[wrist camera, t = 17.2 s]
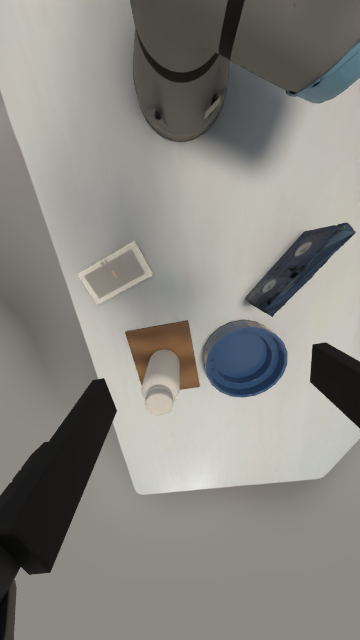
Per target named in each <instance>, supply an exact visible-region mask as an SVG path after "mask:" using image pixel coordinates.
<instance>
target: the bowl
mask: <svg viewBox="0 0 360 640" xmlns="http://www.w3.org/2000/svg"><path fill="white" fill-rule="evenodd" d="M203 359H204V365H205V369H206V374H207V377H208V379H209V380H210V382H211V384H212V385H213V386H214V387H215V388H216V389H218V390H219V391H220V392H222V393H224V394H227V395H229V396H233V397H249V396H255V395H257V394H260V393H262V392H265V391H267V390H268V389H269V388H271V387H272V386H273V385H275V384H276V383H277V381H278V380H279V379H280V378H281V376H282V375H283V373H284V371H285V368H286V366H287V351H286V348H285V345H284V343H283V341H282V340H281V339H280V338H279V337H278V336H277V335H276V334H275V333H273V332H272V331H271V330H270V329H268V328H267V327H266V326H264V325H261V324H259V323H257V322H254V321H246V320H242V321H236V322H231V323H229V324H227V325H225V326H223V327H221V328H219V329H218V330H217V331H216V332H215V333H214V334H212V335H211V337H210V338H209V340H208V342H207V343H206V345H205V349H204V354H203Z"/></svg>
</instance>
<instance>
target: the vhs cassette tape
mask: <svg viewBox="0 0 360 640" xmlns="http://www.w3.org/2000/svg"><path fill="white" fill-rule="evenodd" d="M355 233H356V232H355V231H354V230H353V228H352V227H351V226H350V225H349V224H348V223H342V224H338V225H337V226H335V225H333V226H329V227H324V228H319V229H315V230H310V231H305V232H304V233H303V234H302V235H301V236H300V237H299V238H298V239H297V241H296V242H295V243H294V244H293V245H292V246H291V247H290V248H289V250H288V251H287V252H286V253H285V254H284V255H283V256H282V257H281V259H280V260H279V261H278V262H277V263H276V264H275V265H274V266H273V268H272V269H271V270H270V271H269V272H268V273H267V274H266V275H265V276H264V277H263V279H262V280H261V281H260V282H259V283H258V284H257V285H256V286H255V288H254V289H253V290H252V291H251V292H250V293H249V294H248V295H247V297H246V298H245V299H246V300H247V301H248V302H250V303H251V304H252V305H254V306H255V307H257V308H258V309H260V310H261V311H263V312H265V313H267V314H268V315H270V316H272V317H273V316H274V314H275V313H276V312H277V311H278V310H279V309H280V308H281V307H282V306H284V305H285V303H286V302H287V301H288V300H289V299H290V298H291V297H292V296H293V295H294V294H295V293H296V292H297V291H298V290H299V289H300V288H301V287H302V286H303V285H304V284H305V283H306V282H307V281H309V280H310V279H311V278H312V277H313V275H314V274H315V273H316V272H317V271H318V269H319V268H321V267H322V266H323V265H324V264H325V263H326V262H327V260H328V259H329V258H330V257H331V256H332V255H333V254H334V253H335V252H336V251H337V250H338V249H339V248H340V247H341V246H343V245H344V244H345V243H346V242H347V241H348V240H349V239H350V238H351V237H352V236H353V235H354V234H355Z"/></svg>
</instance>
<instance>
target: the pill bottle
mask: <svg viewBox="0 0 360 640" xmlns="http://www.w3.org/2000/svg"><path fill="white" fill-rule="evenodd" d="M179 391H180V364H179V359H178V357H177V355H176V354H175V353H174V352H172V351H170V350H167V349H162V350H158V351H156V352H155V353H154V354H153V355H152V356H151V358H150V360H149V364H148V367H147V370H146V374H145V377H144V380H143V384H142V395H143V397H144V399H145V407H146V409H147V411H148V412H149V413H151V414H153V415H156V416H162V415H166V414H168V413H169V412H170V411H171V410H172V408H173V402H174V401H175V400H176V399H177V397H178V395H179Z"/></svg>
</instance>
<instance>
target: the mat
mask: <svg viewBox="0 0 360 640" xmlns="http://www.w3.org/2000/svg"><path fill="white" fill-rule="evenodd" d="M125 333H126V336H127V340H128V343H129V346H130V349H131V352H132V356H133V359H134V362H135V365H136V368H137V371H138V375H139V378H140V381H141V384H143V380H144V377H145V374H146V370H147V367H148V364H149V360H150V358H151V356H152V355H153V354H154V353H155V352H156V351H158V350H162V349H167V350H170V351H172V352H174V353H175V354H176V355H177V357H178V359H179V364H180V390H181V389H188V388H194V387H200V385H199V379H198V374H197V368H196V363H195V357H194V352H193V346H192V341H191V335H190V330H189V324H188V321H182V322H177V323H171V324H165V325H160V326H154V327H148V328H143V329H137V330H131V331H126V332H125Z"/></svg>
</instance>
